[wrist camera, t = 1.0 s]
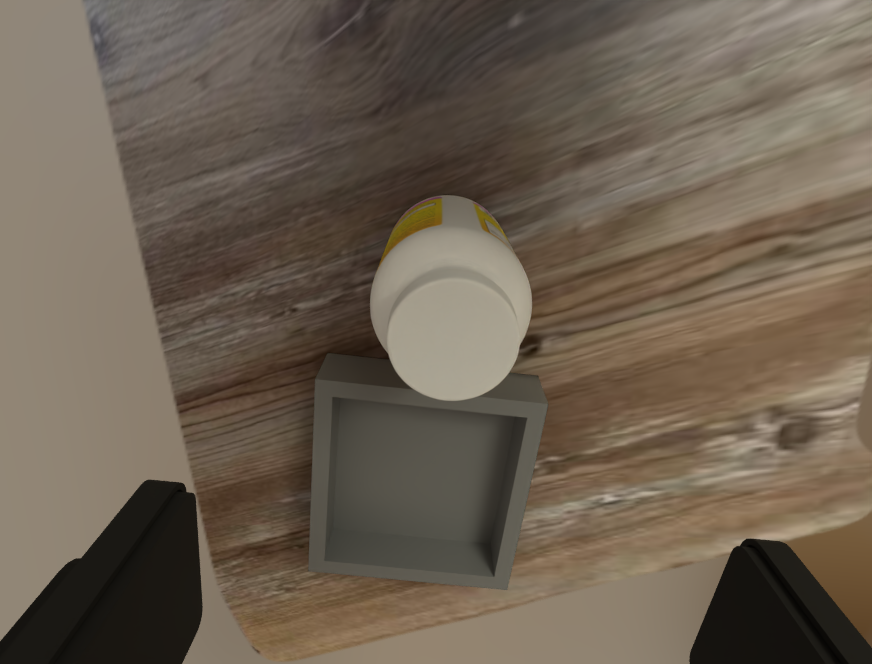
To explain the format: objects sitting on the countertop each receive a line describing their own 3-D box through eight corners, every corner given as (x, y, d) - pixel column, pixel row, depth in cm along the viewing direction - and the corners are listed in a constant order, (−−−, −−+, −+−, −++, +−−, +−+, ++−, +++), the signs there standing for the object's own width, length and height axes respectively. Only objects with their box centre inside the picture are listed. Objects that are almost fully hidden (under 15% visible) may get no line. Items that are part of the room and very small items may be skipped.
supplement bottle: (378, 295, 31) (340, 405, 20) (400, 180, 29) (372, 227, 17) (489, 318, 32) (518, 441, 20) (520, 208, 30) (573, 272, 18)
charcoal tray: (327, 352, 33) (315, 379, 30) (537, 375, 33) (548, 404, 30) (319, 532, 38) (308, 571, 35) (501, 549, 39) (507, 590, 35)
